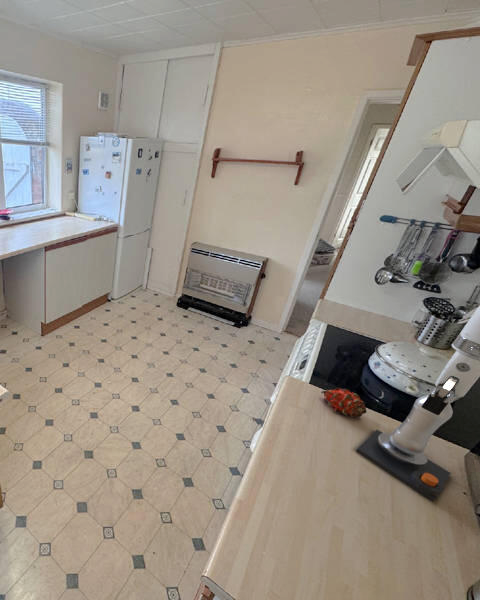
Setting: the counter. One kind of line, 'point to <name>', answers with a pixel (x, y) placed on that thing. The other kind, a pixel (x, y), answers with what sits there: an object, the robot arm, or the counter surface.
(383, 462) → the scale
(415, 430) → the plastic bottle
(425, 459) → the scale pan
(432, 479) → the tare button
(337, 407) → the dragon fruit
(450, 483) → the counter surface
